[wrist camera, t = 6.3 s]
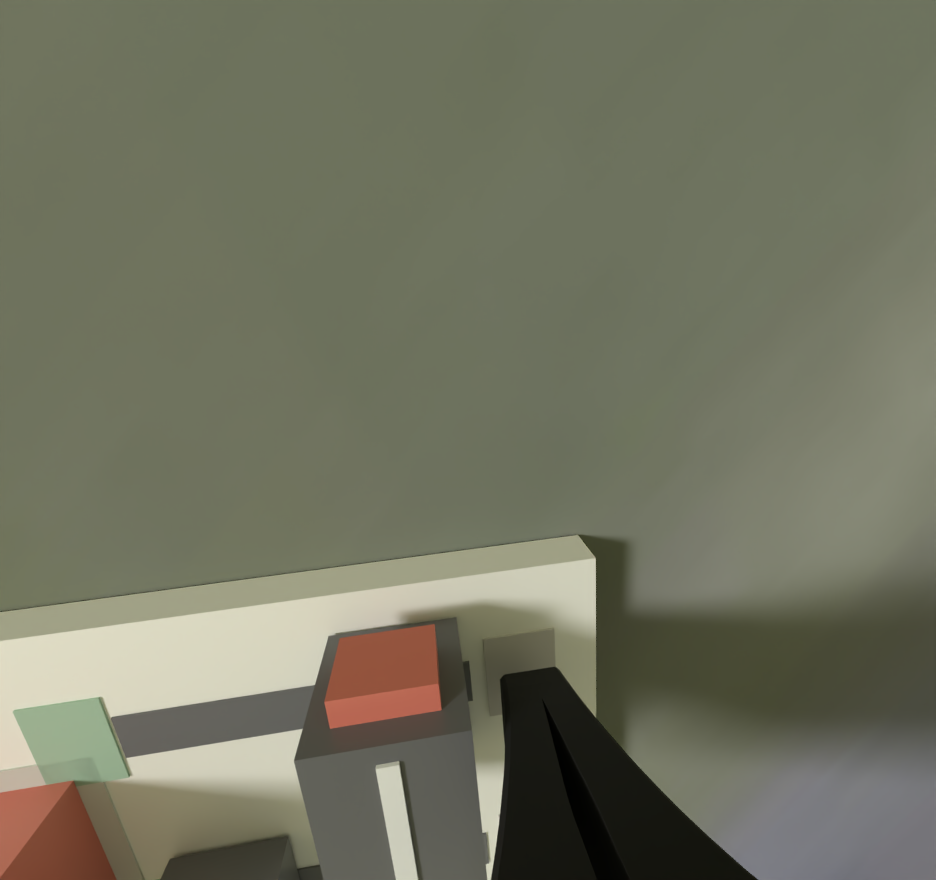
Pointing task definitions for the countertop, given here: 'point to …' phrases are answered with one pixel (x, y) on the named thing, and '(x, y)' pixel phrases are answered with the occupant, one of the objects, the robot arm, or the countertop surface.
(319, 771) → the breaker
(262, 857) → the block
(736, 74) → the countertop surface
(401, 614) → the board
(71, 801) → the cap
